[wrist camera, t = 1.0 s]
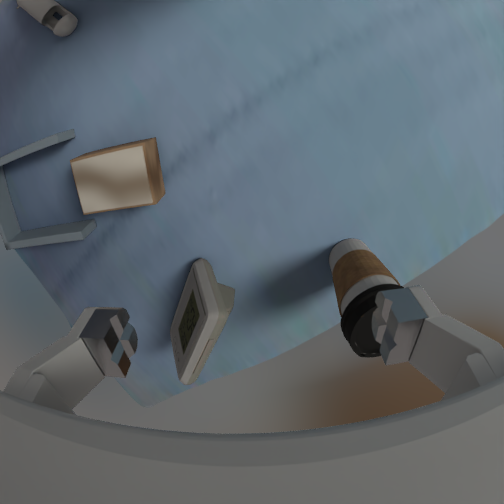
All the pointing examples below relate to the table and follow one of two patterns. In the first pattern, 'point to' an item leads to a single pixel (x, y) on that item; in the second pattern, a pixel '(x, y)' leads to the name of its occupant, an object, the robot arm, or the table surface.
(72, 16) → the torpedo
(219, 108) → the table surface
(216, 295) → the digital clock
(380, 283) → the coffee cup
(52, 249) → the table surface
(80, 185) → the tan block
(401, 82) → the table surface
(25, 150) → the bay
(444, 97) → the table surface
